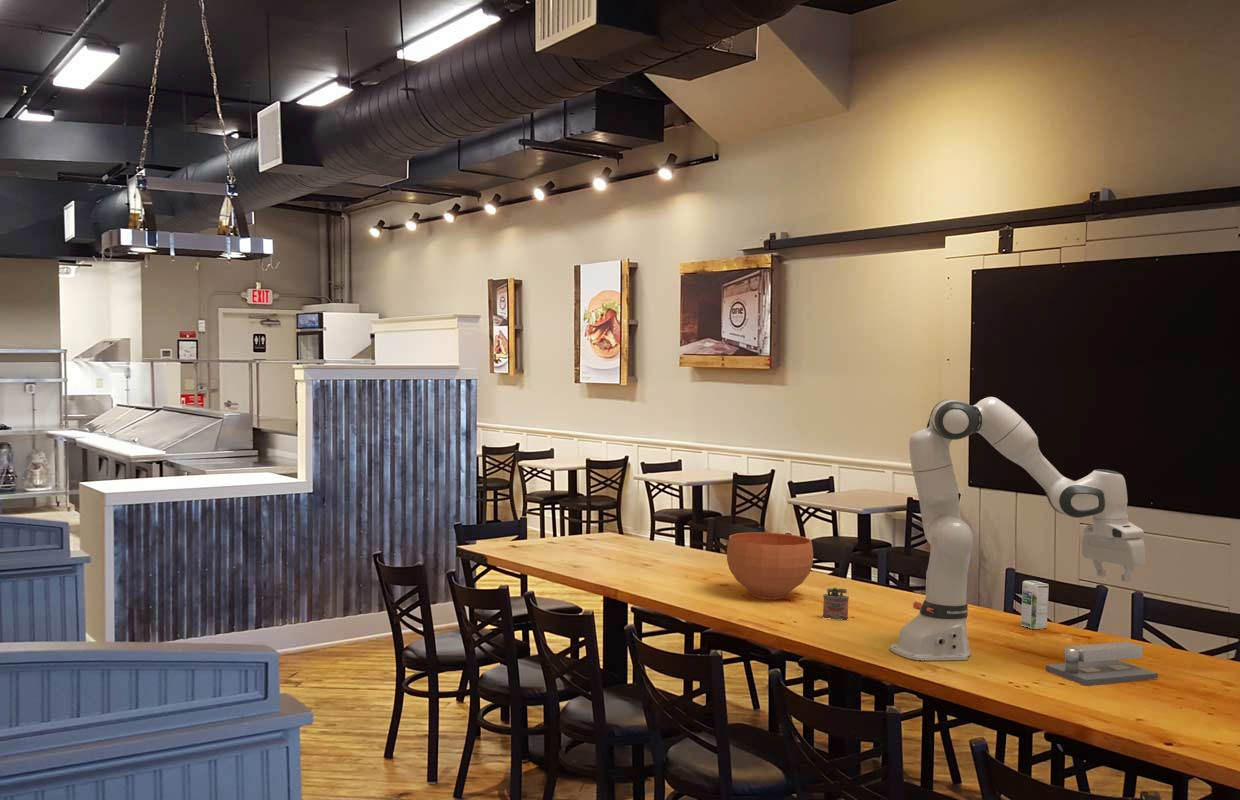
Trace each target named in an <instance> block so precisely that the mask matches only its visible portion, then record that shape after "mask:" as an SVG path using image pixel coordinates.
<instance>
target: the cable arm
mask: <svg viewBox="0 0 1240 800" xmlns="http://www.w3.org/2000/svg"><path fill="white" fill-rule="evenodd" d="M1143 656H1144V645H1143V646H1142V645H1140V644H1137V643H1133V642H1130V641H1123V642H1122V641H1121V642H1120V641H1119V642H1107V643H1106V642H1105V643H1093V644H1080V645H1079V644H1078V645H1070V646H1066V647H1064V661H1065V662H1066V661H1069V662H1096V661H1108V660H1119V661H1121V660H1130V659H1139V658H1140V659H1142V658H1143Z"/></svg>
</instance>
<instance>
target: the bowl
mask: <svg viewBox="0 0 1240 800" xmlns="http://www.w3.org/2000/svg"><path fill="white" fill-rule="evenodd" d="M813 547H814V546H813V542H812V540H811V538H808V537H805V536H801V535H796V534H787V533H778V532H761V531H759V532H757V531H756V532H738V533H734V534H731V535H729V538H728V543H727V548H726V561H727V564H728V568H729V571H730V573H731V574H732V575H733V577H734V578H735V580H736V581H737V582H738V583H740V584H741V586H743V587H744V588H745V589H747V591H749V592H750V593H751V594H752V595H753V596H755V597H758V598H757V599H759V598H765V599H764V600H766V599H779V600H783V599H785V596H786V595H787V594H789V593H790V592H792V591H793V590H794V589H796V588H798V586H800V585H801V584H803V583H804V581H805V580H806V579H807V577H809V575H810V573H811V570H812V567H813V564H814V563H813V562H814V549H813ZM753 596H752V597H753ZM755 597H754V598H755ZM782 598H783V599H782Z"/></svg>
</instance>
